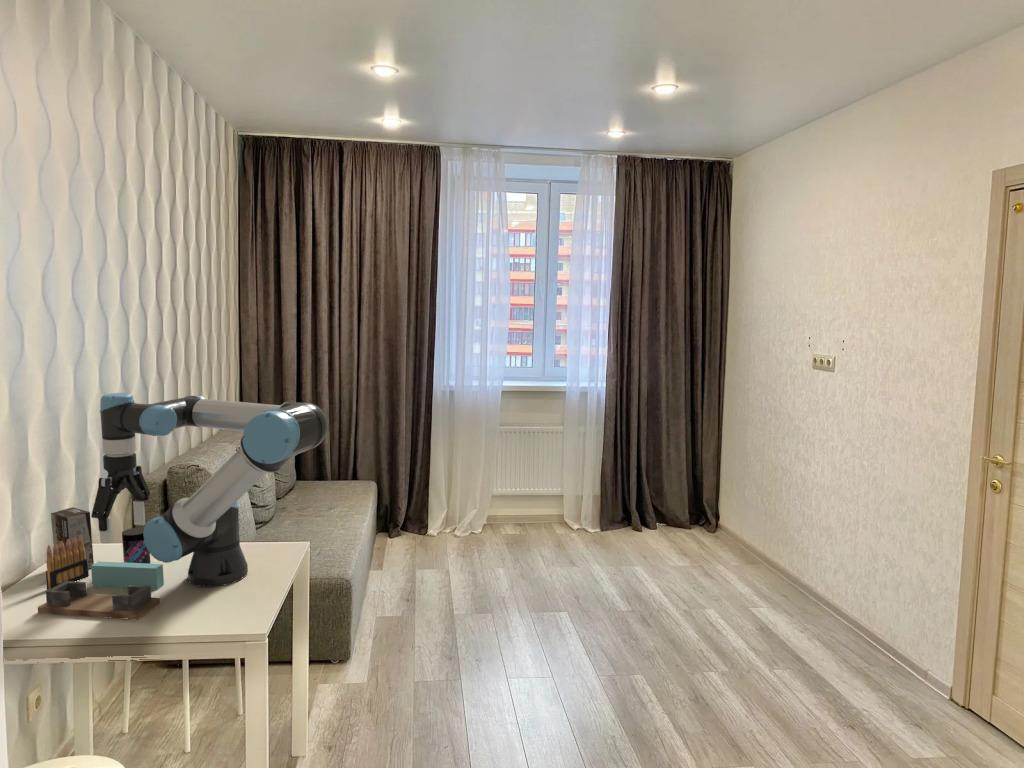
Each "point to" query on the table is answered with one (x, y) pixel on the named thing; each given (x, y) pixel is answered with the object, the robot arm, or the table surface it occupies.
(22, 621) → the table surface
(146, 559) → the supplement container
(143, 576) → the slat
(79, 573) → the ammunition clip
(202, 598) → the table surface
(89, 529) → the coffee box
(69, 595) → the frame
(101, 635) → the table surface
